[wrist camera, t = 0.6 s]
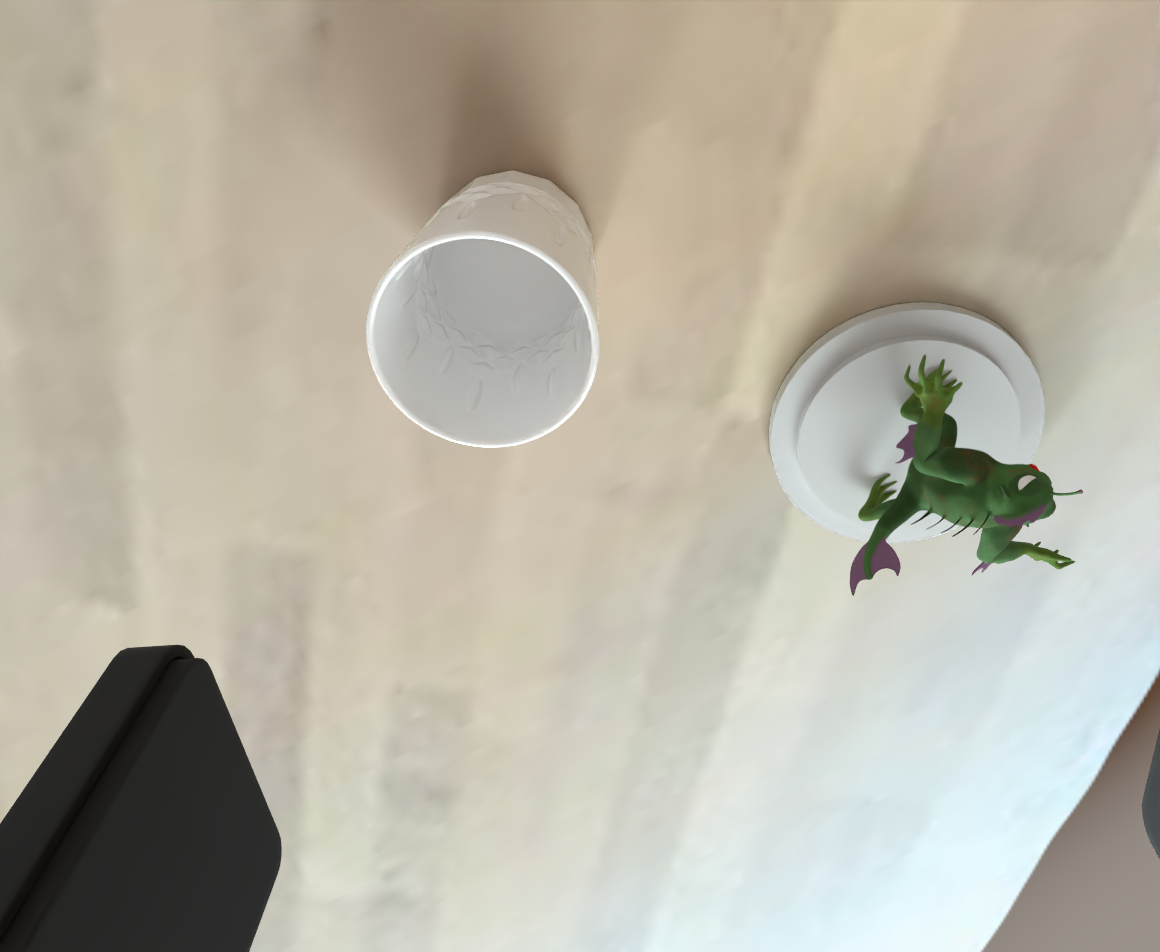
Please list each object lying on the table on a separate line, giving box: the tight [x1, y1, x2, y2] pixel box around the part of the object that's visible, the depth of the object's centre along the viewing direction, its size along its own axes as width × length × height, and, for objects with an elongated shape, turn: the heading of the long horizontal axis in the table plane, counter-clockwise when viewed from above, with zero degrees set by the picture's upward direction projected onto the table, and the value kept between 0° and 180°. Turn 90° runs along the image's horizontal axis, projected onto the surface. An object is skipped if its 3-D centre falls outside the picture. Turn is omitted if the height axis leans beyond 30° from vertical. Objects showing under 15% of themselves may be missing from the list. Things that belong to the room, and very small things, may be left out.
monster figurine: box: [769, 302, 1083, 596], centre depth 41 cm, size 12×12×10 cm
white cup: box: [366, 170, 599, 447], centre depth 37 cm, size 8×8×10 cm
